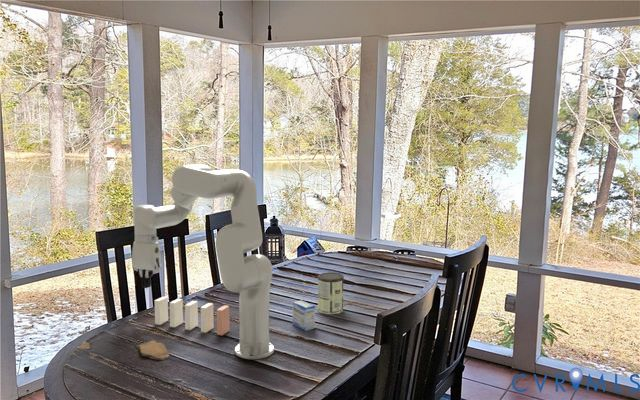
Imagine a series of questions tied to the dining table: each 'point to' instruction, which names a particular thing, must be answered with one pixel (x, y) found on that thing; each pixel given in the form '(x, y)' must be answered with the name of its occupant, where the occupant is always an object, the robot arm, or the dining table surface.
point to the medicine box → (303, 315)
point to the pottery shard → (153, 350)
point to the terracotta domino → (222, 320)
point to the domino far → (161, 310)
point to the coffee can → (330, 293)
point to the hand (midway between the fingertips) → (146, 286)
